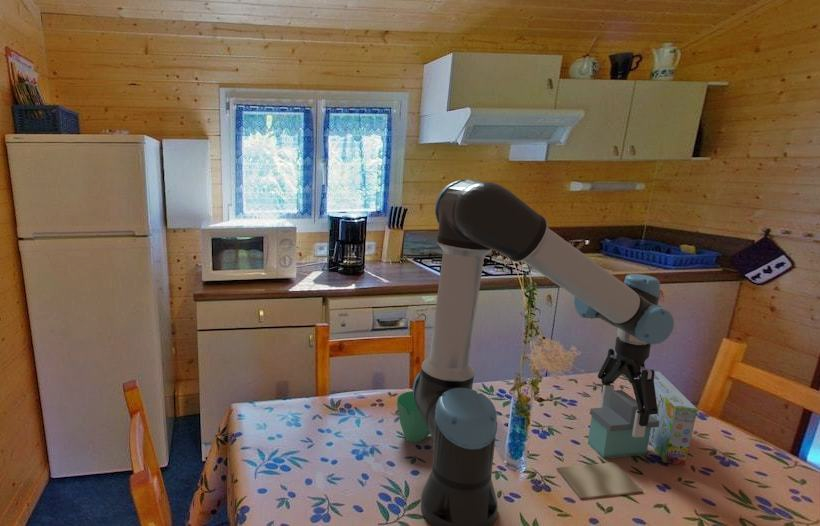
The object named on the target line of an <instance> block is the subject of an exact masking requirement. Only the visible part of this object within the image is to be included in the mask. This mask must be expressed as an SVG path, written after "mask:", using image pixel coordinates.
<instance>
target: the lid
mask: <svg viewBox="0 0 820 526" xmlns="http://www.w3.org/2000/svg"><path fill="white" fill-rule="evenodd" d="M643 408H644V406H643ZM589 410H590V411H589V415H590V416H591V417H592V416H593V417H594V418H595V419H596V420H597V421H598V422H600V423H601V424H602V425H603V426H604V427H605V428H606V429H608V430H609V431H621V430H631V429H633V426H634V420H635V413H636V410H639V408H638V405H637V401H636V398H633V396H632V395H629V394H628V393H627V392H625V391H624V390H622V389H614V391H611V396H610V403H609V407H603V408H600V407H593V408H592V407H591V408H590V409H589ZM659 422H660V421H659V420H657V419H656V418H654V417H653V416H652V415H649V420H648V425H647V426H646V428H652V427H659Z"/></svg>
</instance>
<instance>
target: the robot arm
mask: <svg viewBox="0 0 820 526" xmlns="http://www.w3.org/2000/svg"><path fill="white" fill-rule="evenodd" d="M434 212H435V213H434V215H435V217H436V220H437V223H438V229H437V230H438V231H437V239H436V243H437V245H438V246H439V248H440V249H441V250H442V257H441V266H440V273H439V280H438V281H439V282H438V288H437V297H436V302H435V303H436V305H435V312H434V320H433V321H434V322H433V327H432V335H431V336H432V337H431V344H430V350H429V351H430V352H429V356H428V358H426V359H425V360H423V362H422V364H421V368H420V372H418V373H417V375H416V376H415V378H414V381H413V385H412V391H413V396H414V401H415V404H416V407H417V409H418V410H419V412H420V414H421V416H422V418H423V420H424V422H425V424H426V426H427V428H428V430H429V432H430V436H431V437H432V441H433V450H432V451H433V454H432V467H431V468H432V470H431V472H430V474H429V476H428V478H427V481H426V483H425V485H424V487H423V490H422V493H421V501H420V502H421V504H420V506H421V507H420V509H421V513H422V515H423V517H424V519H425V520H426V521H427V523H428V524H429V525H431V526H494V525H495V524H496V521H497V518H498V517H497V516H498V508H499V507H498V500H497V496H496V492H495V487H494V484H493V481H492V472H493V466H494V465H493V464H494V454H495V444H496V438H497V437H496V435H497V431H498V420H497V419H498V417H497V409H496V407H495V405H494V403H493V401H492V400H491V399H490V397H489V398H488V397H487V396H486V395H485V394H484V393H481V392H480V393H478V391H477V390H476V389H473V387H474V385H473V384H474V377H475V369H474V368H473V367H472V365H471V364H470V363H469V362H470V356H471V349H472V341H473V336H474V335H473V334H474V328H475V320H476V315H477V308H478V301H479V294H480V287H481V281H482V274H483V273H482V272H483V267H484V259H485V257H486V256H487V255H488V254H490V253H491V252H492V251H495V252H497V253H499V254H501V255H502V256H505V257H506V258H508V259H509V260H511V261H512V262H514V263H519V262H524V263H525V264H526V265H527V266H528V267H531V268H532V269H534V270H535V271H537V273H540V274H541V275H543V276H544V277H545V278H547V279H549V280H550V281H551V282H553V283H554V284H556V285H557V286H559V287H560V288H562V289H563V290H565V291H566V292H568V294H570V295H572V296H573V297H574V298H573V305H574V309H575V311H576V313H577V315H578V316H580V317H581V318H583V319H591V320H592V319H600V320H602V321H603V322H606V323H608V324H609V325H612V326H613V327H616V328H617V331H616V335H617V337H616V339H615V345H614V348H609V349H608V352H607V357H606V358H605V360H604V362H603V364H602V366H601V368H600V369H599V372H598V373H597V378H598V379H600V380H601V384H602V386H601V387H602V388H601V399H600V405H599V408H603V407H609V403H610V396H611V391H614V390H615V385H614V384H615V381H616V380H617V379H618V378H620V377H621V375H623V376H625V377H626V379H628V382H629V383H630V384H631V386H632V390H633V393H634V397H635V398H634V399H635V400H636V401H637V405H638V408H639V410H636V413H635V420H634V426H633V432H632V436H633V437H644V435H645V429H646V426H647V425H648V420H649V415H652V414H658V409H657V402H656V394H655V386H654V374H655V372H654V371H655V370H654V369H648V368H646V366H645V361H647V360H648V359H649V357H650V352H651V346H652V345H659V344H662V343H664V342H665V341H666V340H667V339H669V337H670V336H671V334H672V333H673V330H674V325H675V324H674V323H675V322H674V317H673V315H672V313H671V312H670V311H669V310H667V309H666V308H663V307H662V306H661V305H658V304H659V301H660V300H659V299H660V290H661V282H660V280H659V279H658V278H656V277H654V276H651V275H647V274H640V273H639V274H638V273H631V274H627V275H626V276H625V278H624V281H621V280H620V279H618V278H617V277H616V276H615V275H613V274H612V273H611V272H609V271H608V270H607V269H605V268H604V267H602V266H601V265H599V264H598V263H597V262H595V261H594V260H592V259H591V258H590V257H588V256H587V255H586V254H585V253H583V252H582V251H580V250H579V249H578V248H576V247H575V246H574V245H572V244H571V243H570V242H569V241H567V240H565V239H564V238H562V236H560V235H559V234H557V233H556V232H554V231H553V230H552V229H550V228H549V227H548V226H549V225H548V223H549V222H548V220H547V219H546V218H545V217H544V216H543V215H541V214H540V213H538V212H537V211H536V210H535V209H533V207H531V206H530V205H528V204H527V203H526V202H524V201H523V199H521V198H520V197H518V196H517V195H515V194H514V192H512V191H511V190H509V189H508V188H506V187H505V186H502V185H500V184H499V183H496V182H491V181H482V180H475V179H466V178H465V179H460V180H456V181H453V182H451V183H449V184H448V185H446V186H445V187H444V188H443V189H442V190H441V191H440V193H439V194H438V196H437V198H436V200H435V206H434ZM643 406H644V408H643Z"/></svg>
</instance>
